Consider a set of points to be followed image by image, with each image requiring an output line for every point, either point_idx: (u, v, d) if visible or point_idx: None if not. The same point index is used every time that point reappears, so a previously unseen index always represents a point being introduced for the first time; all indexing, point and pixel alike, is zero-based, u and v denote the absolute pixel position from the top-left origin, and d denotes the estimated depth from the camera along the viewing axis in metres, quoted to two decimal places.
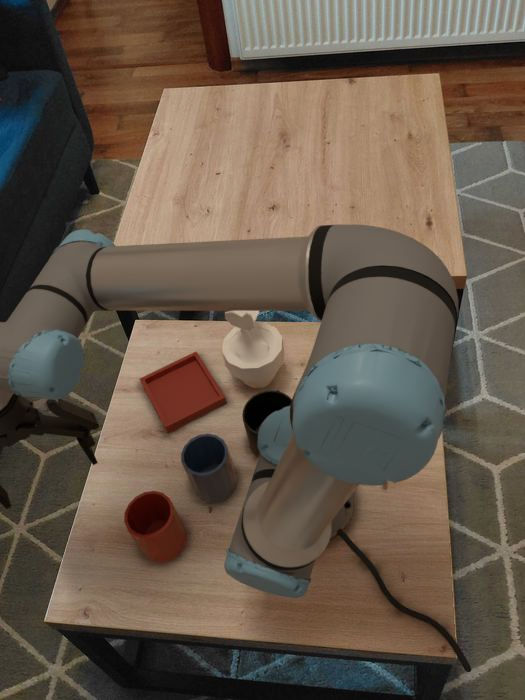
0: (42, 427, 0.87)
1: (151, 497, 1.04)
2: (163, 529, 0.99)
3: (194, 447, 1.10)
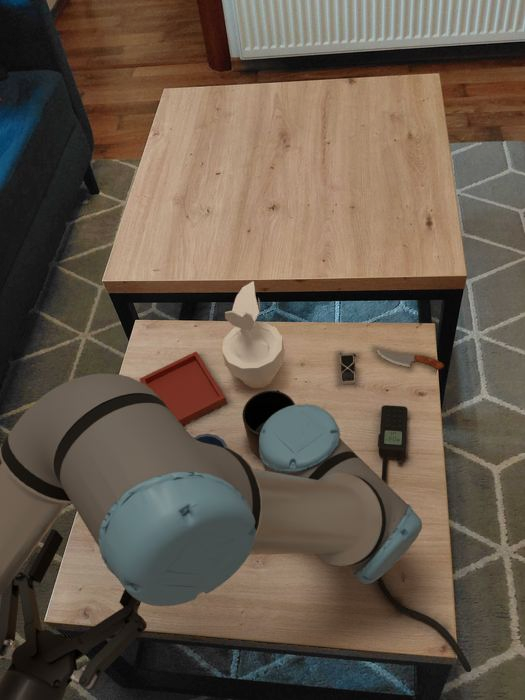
0: None
1: None
2: None
3: None
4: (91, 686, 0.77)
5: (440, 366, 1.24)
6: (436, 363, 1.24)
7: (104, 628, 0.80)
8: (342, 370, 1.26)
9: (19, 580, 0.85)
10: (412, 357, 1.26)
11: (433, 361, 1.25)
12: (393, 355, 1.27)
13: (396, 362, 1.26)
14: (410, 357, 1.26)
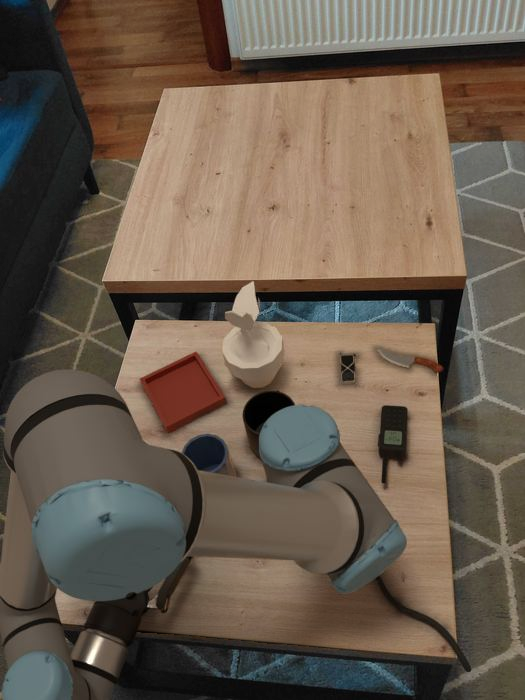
0: None
1: None
2: None
3: (194, 447, 1.10)
4: (166, 608, 0.96)
5: (439, 369, 1.23)
6: (436, 366, 1.24)
7: None
8: (342, 370, 1.26)
9: None
10: (412, 358, 1.26)
11: (433, 364, 1.24)
12: (393, 356, 1.27)
13: (396, 363, 1.26)
14: (410, 358, 1.26)
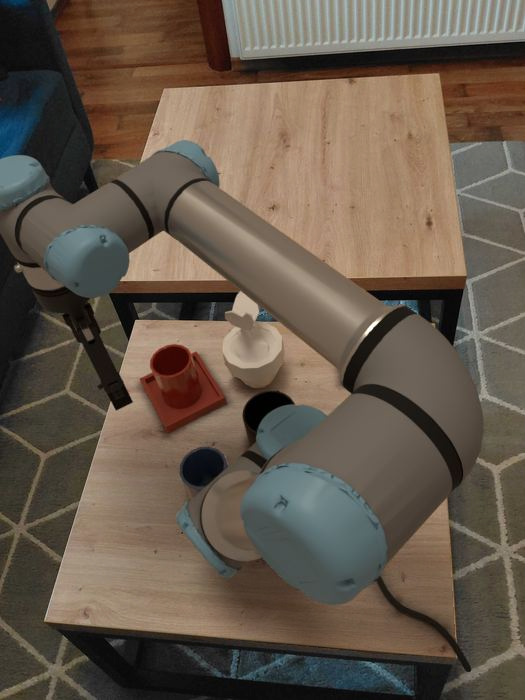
0: None
1: (172, 350, 1.23)
2: (183, 371, 1.18)
3: (188, 464, 1.08)
4: (84, 333, 0.82)
5: None
6: None
7: None
8: None
9: None
10: None
11: None
12: None
13: None
14: None
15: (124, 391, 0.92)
